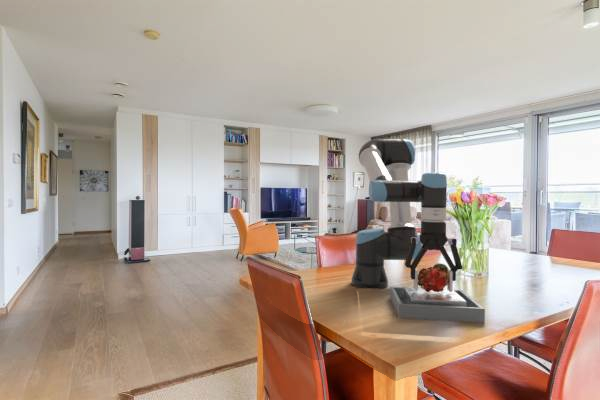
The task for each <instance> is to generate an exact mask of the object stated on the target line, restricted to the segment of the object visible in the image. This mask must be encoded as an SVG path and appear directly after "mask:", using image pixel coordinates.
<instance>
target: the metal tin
mask: <svg viewBox="0 0 600 400" xmlns="http://www.w3.org/2000/svg"><path fill="white" fill-rule="evenodd" d="M403 288H404V292H403V301H404V303H405V304H419V305H439V306H458V307H466V301H465V300H464V299H463V298H462V297H461V296H460V295H459V294H457V293H456V292H455V291H454V290H455V289H453V288H452V292H449V291H448V290H447V288H443V289H444V290H443V291H440V292H438V293H437V292H434V291H433V290H430V291H429V292H427V291H426V290H424V289H422V288H421V287H418V290H415V289H414V286H403Z"/></svg>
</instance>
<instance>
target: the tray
mask: <svg viewBox="0 0 600 400" xmlns="http://www.w3.org/2000/svg"><path fill="white" fill-rule="evenodd" d="M453 290H454V291H455V292H456V293H457V294H459V295H460V296H461V297H462V298H463V299H464V300H465V301H466V307H458V306H439V305H419V304H405V303H404V301H403V292H404V286H402V287H399V286H390V296H389V297H390V300H391V301H390V302H392V305H393V307H394V310H395V313H396V315H397V317H398V319H410V320H427V321H428V320H429V321H443V322H444V321H445V322H460V323H461V322H464V323H477V324H478V323H479V324H481V323H484V324H485V318H486V317H485V316H486V314H485V311H486V309H485V307H483V306H482V305H481V304H479V302H477V301H476V300H475V299H473V298H472V297H471V296H469V295H468V293H466V292H465V291H464V290H462V289H453Z"/></svg>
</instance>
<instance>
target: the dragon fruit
mask: <svg viewBox="0 0 600 400" xmlns="http://www.w3.org/2000/svg"><path fill="white" fill-rule="evenodd" d="M446 276H447V275H446V273H445V272H444V271H441V270H440V268H438V267H436V268H434V269H433V266H429V267H427V268H426V267H425V268H424V267H423V268H421V269H420V270H418V287H419V286H420V288H422V289H424V290H426V291H427V292H429V291H430V290H433V291H434V292H437V293H438V292H440V291H443V290H444V289H445V288H446V286H447V284H448V280H447V278H446Z"/></svg>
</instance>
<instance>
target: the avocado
mask: <svg viewBox="0 0 600 400" xmlns="http://www.w3.org/2000/svg"><path fill="white" fill-rule="evenodd" d="M432 267H433V269H434V268H436V267H438V268H440V270H441V271H444V272H445V273H446V275H447V276H446V278H447V281H448V270H450V268H449V266H448V265H446V264H444V263H436V264H434V265H433V266H432Z"/></svg>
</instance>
